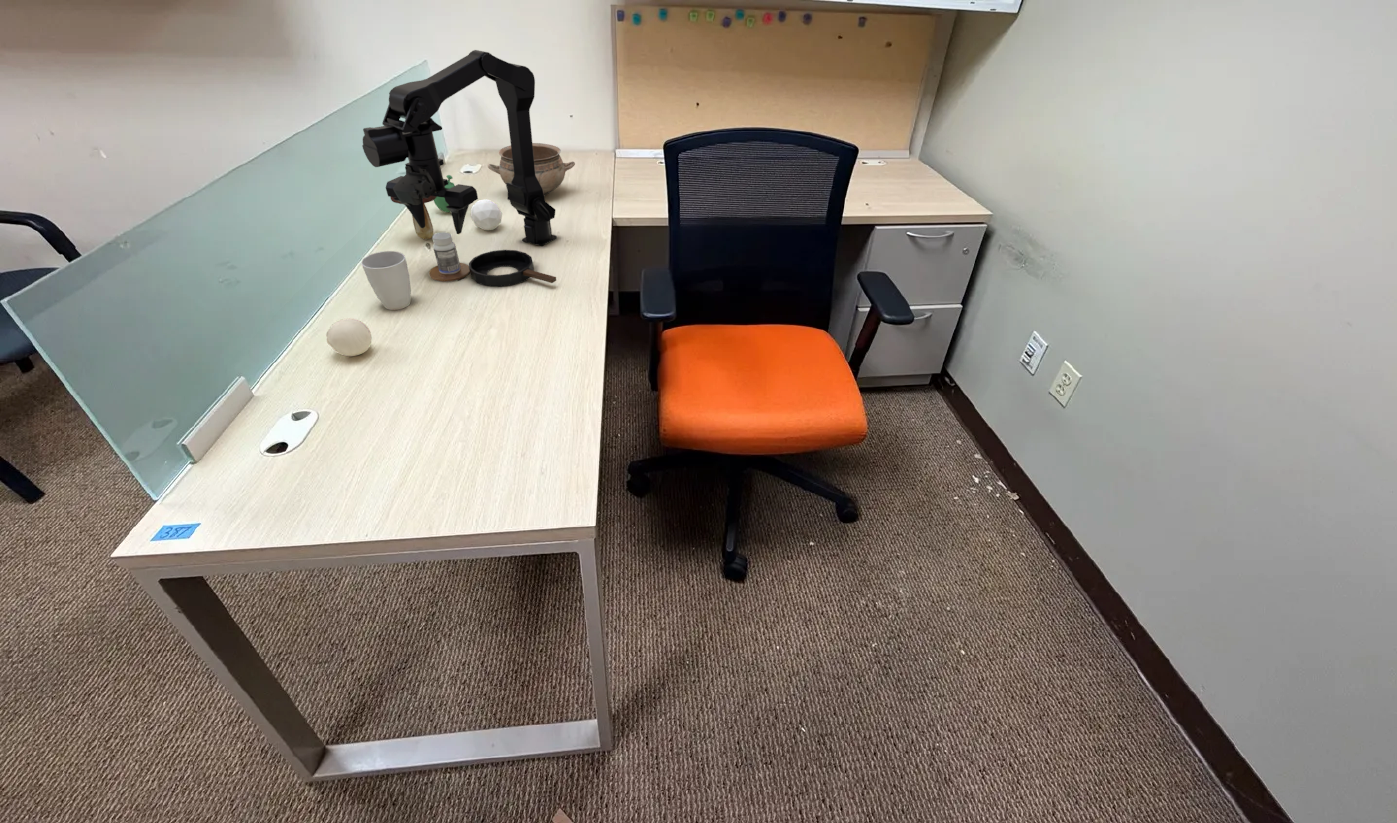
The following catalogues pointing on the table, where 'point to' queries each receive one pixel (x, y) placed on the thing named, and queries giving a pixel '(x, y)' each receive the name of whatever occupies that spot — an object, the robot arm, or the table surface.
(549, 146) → the cooking pot
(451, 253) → the pill bottle
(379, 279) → the cup
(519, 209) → the robot arm
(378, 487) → the table surface
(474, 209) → the ball
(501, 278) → the pan
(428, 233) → the decorative mushroom
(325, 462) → the table surface
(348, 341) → the cream oval shape
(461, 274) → the disc
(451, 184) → the alien toy
